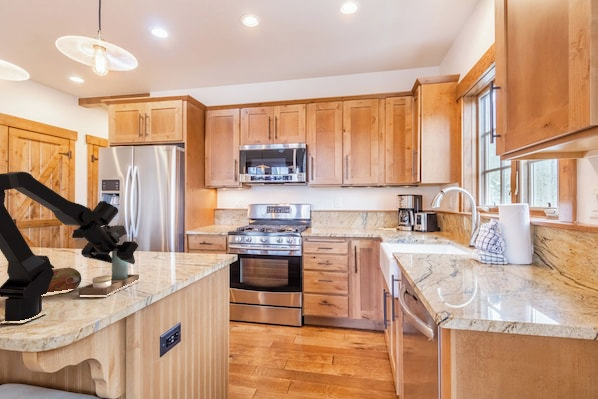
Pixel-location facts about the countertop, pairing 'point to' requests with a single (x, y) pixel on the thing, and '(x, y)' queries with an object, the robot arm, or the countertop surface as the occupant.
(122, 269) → the tall jar
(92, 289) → the caddy
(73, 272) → the tin
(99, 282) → the cream lidded jar
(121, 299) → the countertop surface
